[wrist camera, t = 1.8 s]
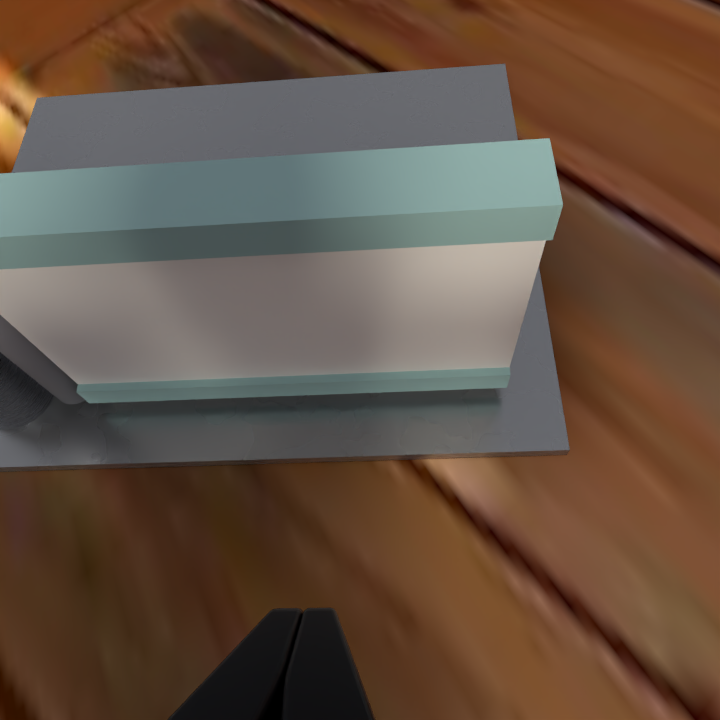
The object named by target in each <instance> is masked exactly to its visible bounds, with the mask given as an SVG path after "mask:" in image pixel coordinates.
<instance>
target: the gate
mask: <svg viewBox="0 0 720 720" xmlns="http://www.w3.org/2000/svg"><path fill="white" fill-rule="evenodd" d="M562 207H563V202H562V197H561V192H560V187H559V183H558V178H557V173H556V168H555V163H554V158H553V153H552V148H551V143H550V138H548V139H532V140H517V141H501V142H486V143H470V144H455V145H439V146H424V147H408V148H393V149H377V150H361V151H346V152H330V153H315V154H299V155H284V156H268V157H253V158H237V159H222V160H206V161H191V162H175V163H160V164H144V165H129V166H113V167H98V168H82V169H67V170H51V171H36V172H20V173H4V174H0V352H1V353H2V354H3V355H4V356H6V357H7V358H8V359H9V360H11V361H12V362H13V363H14V364H16V365H17V366H18V367H19V368H21V369H22V370H23V371H24V372H26V373H27V374H28V375H29V376H30V377H32V378H33V379H34V380H35V381H37V382H38V383H39V384H40V385H42V386H43V387H44V388H45V389H47V390H48V391H49V392H50V393H52V394H53V395H54V396H55V397H56V398H58V399H59V400H60V401H62V402H63V403H66V404H78V403H81V402H83V401H85V400H86V401H87V402H88V403H113V402H140V401H166V400H193V399H220V398H246V397H273V396H300V395H327V394H353V393H380V392H407V391H433V390H460V389H487V388H507V385H508V382H509V379H510V364H511V360H512V357H513V353H514V350H515V346H516V343H517V339H518V336H519V333H520V329H521V326H522V322H523V319H524V315H525V312H526V308H527V305H528V301H529V298H530V294H531V291H532V287H533V284H534V280H535V277H536V273H537V270H538V266H539V263H540V259H541V256H542V252H543V249H544V245H545V242H546V240H553V236H554V233H555V230H556V227H557V223H558V220H559V217H560V213H561V210H562Z"/></svg>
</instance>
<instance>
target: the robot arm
mask: <svg viewBox="0 0 720 720" xmlns="http://www.w3.org/2000/svg"><path fill="white" fill-rule="evenodd" d="M168 720H375V717H374V714H373V711H372V709H371V706H370V703H369V700H368V698H367V695H366V692H365V689H364V687H363V684H362V681H361V678H360V676H359V673H358V670H357V667H356V665H355V662H354V659H353V656H352V654H351V651H350V648H349V645H348V643H347V640H346V637H345V635H344V632H343V629H342V626H341V624H340V621H339V618H338V615H337V613H336V611H335V610H334V609H333V608H308V609H306V610H305V611H304V612H303V611H302V610H301V609H299V608H277V609H273V610H271V611H270V612H269V613H268V614H267V615H266V616H265V617H264V618H263V619H262V620H261V621H260V622H259V623H258V625H257V626H256V627H255V628H254V629H253V630H252V631H251V632H250V633H249V634H248V635H247V636H246V637H245V638H244V639H243V640H242V641H241V642H240V644H239V645H238V646H237V647H236V648H235V649H234V650H233V651H232V652H231V653H230V654H229V655H228V656H227V657H226V658H225V659H224V660H223V661H222V663H221V664H220V665H219V666H218V667H217V668H216V669H215V670H214V671H213V672H212V673H211V674H210V675H209V676H208V677H207V678H206V679H205V681H204V682H203V683H202V684H201V685H200V686H199V687H198V688H197V689H196V690H195V691H194V692H193V693H192V694H191V695H190V696H189V697H188V698H187V700H186V701H185V702H184V703H183V704H182V705H181V706H180V707H179V708H178V709H177V710H176V711H175V712H174V713H173V714H172V715H171V716H170V718H169V719H168Z"/></svg>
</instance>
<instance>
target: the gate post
mask: <svg viewBox="0 0 720 720" xmlns="http://www.w3.org/2000/svg"><path fill="white" fill-rule="evenodd" d="M517 140H518V139H517V133H516V127H515V121H514V115H513V109H512V103H511V97H510V91H509V85H508V79H507V73H506V67H505V64H496V65H483V66H469V67H455V68H441V69H428V70H414V71H400V72H387V73H373V74H359V75H345V76H332V77H318V78H304V79H291V80H277V81H263V82H249V83H236V84H222V85H208V86H195V87H181V88H167V89H153V90H140V91H126V92H112V93H99V94H85V95H71V96H57V97H44V98H37V100H36V103H35V106H34V109H33V112H32V115H31V118H30V121H29V124H28V127H27V130H26V133H25V135H24V138H23V141H22V144H21V147H20V150H19V153H18V156H17V159H16V162H15V165H14V168H13V171H12V173H20V172H36V171H51V170H67V169H82V168H98V167H113V166H129V165H144V164H160V163H175V162H191V161H206V160H222V159H237V158H253V157H268V156H284V155H299V154H315V153H330V152H346V151H361V150H377V149H393V148H408V147H424V146H439V145H455V144H470V143H486V142H501V141H517ZM569 450H570V449H569V443H568V437H567V431H566V425H565V419H564V413H563V407H562V401H561V395H560V389H559V383H558V377H557V371H556V365H555V359H554V353H553V347H552V341H551V335H550V329H549V324H548V318H547V312H546V306H545V300H544V294H543V288H542V282H541V276H540V270H539V266H538V270H537V273H536V277H535V280H534V284H533V287H532V291H531V294H530V298H529V301H528V305H527V308H526V312H525V315H524V319H523V322H522V326H521V329H520V333H519V336H518V339H517V343H516V346H515V350H514V353H513V357H512V360H511V364H510V379H509V382H508V385H507V388H487V389H460V390H433V391H407V392H380V393H353V394H327V395H300V396H273V397H246V398H220V399H193V400H166V401H140V402H113V403H88V402H87V401H86V400H85V401H83V402H81V403H78V404H66V403H63V402H62V401H60V400H59V399H58V398H56V397H55V396H54V395H53V394H52V393H50V392H49V391H48V390H47V389H45V388H44V387H43V386H42V385H40V384H39V383H38V382H37V381H35V380H34V379H33V378H32V377H30V376H29V375H28V374H27V373H26V372H24V371H23V370H22V369H21V368H19V367H18V366H17V365H16V364H14V363H13V362H12V361H11V360H9V359H8V358H7V357H6V356H4V355H3V354H2V353H1V352H0V472H7V471H40V470H74V469H107V468H141V467H174V466H207V465H241V464H274V463H308V462H341V461H375V460H408V459H442V458H475V457H509V456H542V455H567V453H568V452H569Z"/></svg>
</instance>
